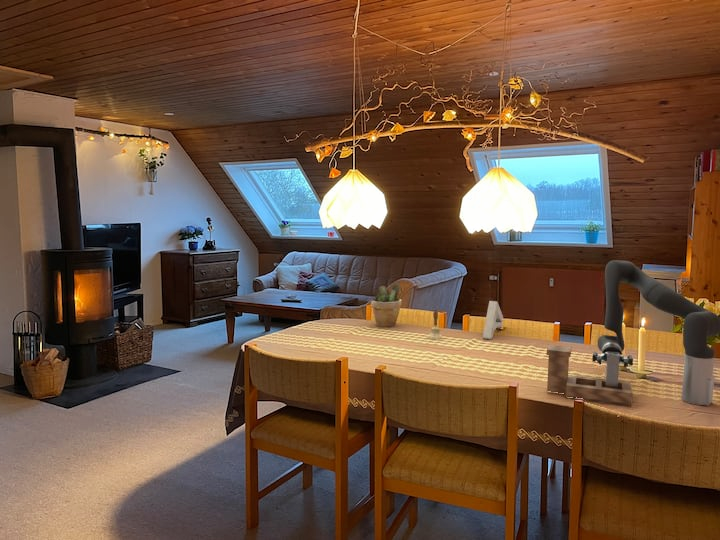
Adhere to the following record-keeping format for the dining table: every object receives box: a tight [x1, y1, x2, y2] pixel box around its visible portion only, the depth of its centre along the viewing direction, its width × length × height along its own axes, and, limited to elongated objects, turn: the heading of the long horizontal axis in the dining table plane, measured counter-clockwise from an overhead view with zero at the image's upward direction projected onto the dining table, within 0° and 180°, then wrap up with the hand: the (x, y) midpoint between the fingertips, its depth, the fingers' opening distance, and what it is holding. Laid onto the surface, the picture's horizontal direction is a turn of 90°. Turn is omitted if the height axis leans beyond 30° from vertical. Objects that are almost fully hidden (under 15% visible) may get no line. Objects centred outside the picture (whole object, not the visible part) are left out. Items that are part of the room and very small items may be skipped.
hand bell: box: [427, 308, 444, 340], centre depth 302 cm, size 8×8×16 cm
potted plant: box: [370, 283, 403, 328], centre depth 332 cm, size 18×19×25 cm
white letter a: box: [482, 300, 505, 341], centre depth 314 cm, size 22×4×30 cm
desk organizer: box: [546, 344, 633, 408], centre depth 210 cm, size 30×14×17 cm, turn 67°
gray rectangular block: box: [605, 352, 620, 389], centre depth 206 cm, size 4×5×16 cm
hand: (612, 363), depth 209 cm, fingers open, 8 cm apart
